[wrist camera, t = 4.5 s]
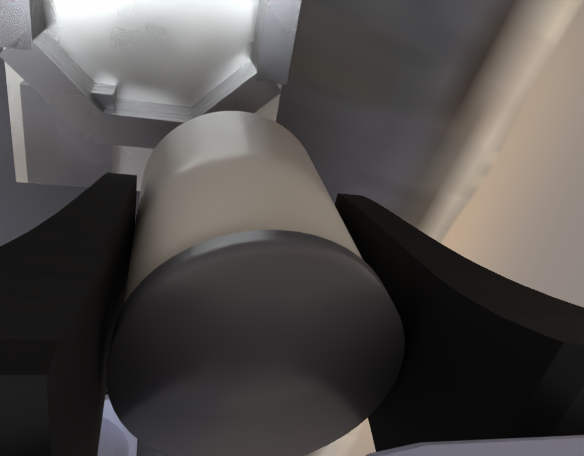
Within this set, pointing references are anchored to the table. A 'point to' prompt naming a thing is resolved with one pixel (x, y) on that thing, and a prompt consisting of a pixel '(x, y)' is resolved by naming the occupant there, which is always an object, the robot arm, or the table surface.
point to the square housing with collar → (132, 76)
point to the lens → (246, 301)
